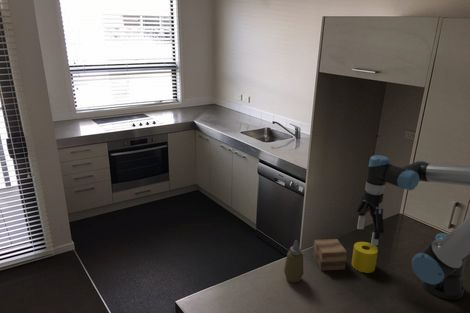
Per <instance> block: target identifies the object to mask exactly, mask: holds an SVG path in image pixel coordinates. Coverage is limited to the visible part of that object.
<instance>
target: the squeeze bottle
mask: <svg viewBox="0 0 470 313" xmlns="http://www.w3.org/2000/svg"><path fill="white" fill-rule="evenodd" d="M283 269H284V271H283V272H284V275H285V278H286V280H287V281H288V282H289V283H293V284H295V283H299V282H300V281H301V279H302V278H303V276H304V254H303V252H302V248H301V247H300V245H299V240H294V242H293V245H292V246H290V248H289V251H288V252H287V254H286V260H285V266H284V268H283Z"/></svg>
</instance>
